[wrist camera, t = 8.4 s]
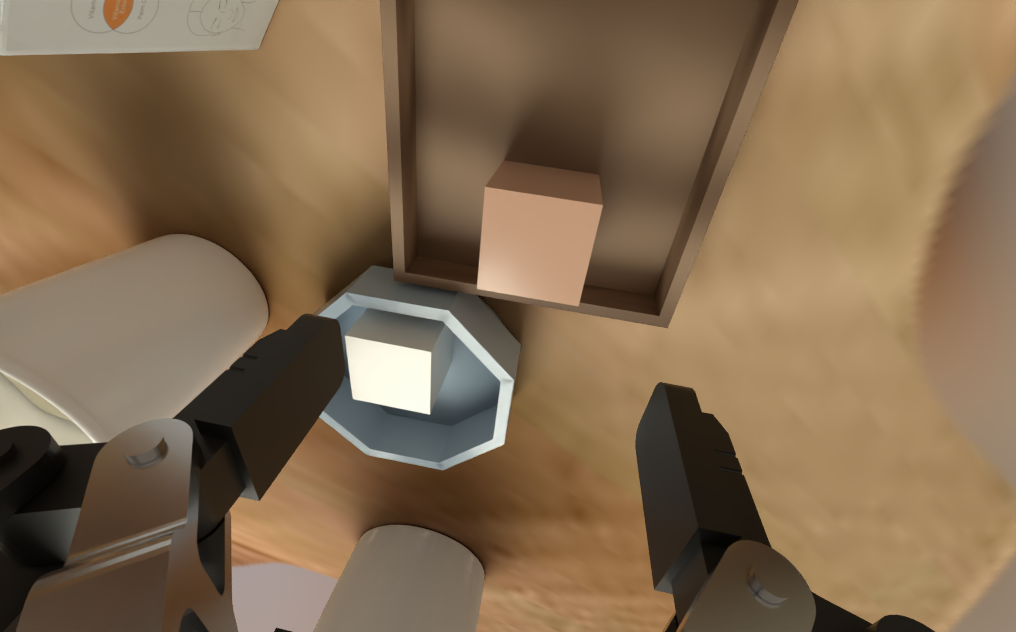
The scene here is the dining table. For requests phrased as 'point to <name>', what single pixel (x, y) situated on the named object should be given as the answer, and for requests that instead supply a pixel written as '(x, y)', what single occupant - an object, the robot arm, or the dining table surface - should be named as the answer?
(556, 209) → the tan cube
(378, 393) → the off-white cube
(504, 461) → the dining table surface
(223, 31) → the small box
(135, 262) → the candle holder
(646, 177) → the walnut tray
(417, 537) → the utensil holder
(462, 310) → the ceramic bowl
